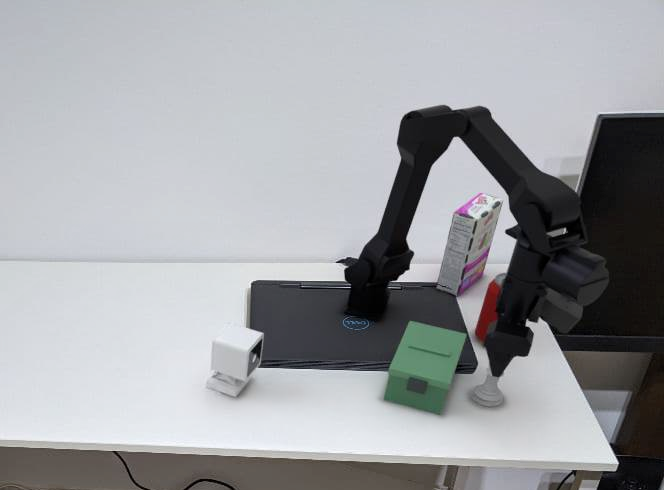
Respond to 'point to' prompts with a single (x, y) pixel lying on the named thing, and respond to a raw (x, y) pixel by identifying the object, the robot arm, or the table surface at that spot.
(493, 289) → the beverage can
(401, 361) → the box
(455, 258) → the candy bar box
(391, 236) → the robot arm
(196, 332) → the table surface
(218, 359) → the security camera
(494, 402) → the chess piece
